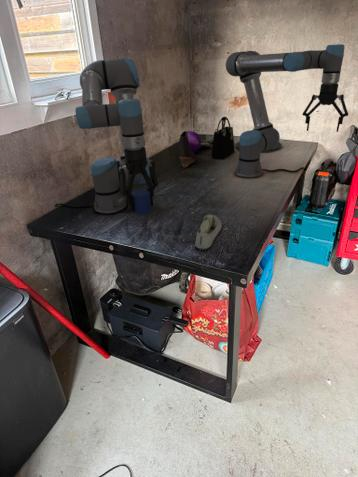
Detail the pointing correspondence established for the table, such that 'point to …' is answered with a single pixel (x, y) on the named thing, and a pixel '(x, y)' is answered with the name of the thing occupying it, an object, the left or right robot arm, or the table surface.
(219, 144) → the handbag
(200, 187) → the table surface
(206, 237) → the ballet flat
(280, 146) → the miniature village
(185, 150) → the boot
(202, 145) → the pair of gloves
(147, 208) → the canister
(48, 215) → the table surface
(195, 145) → the decorative orb
